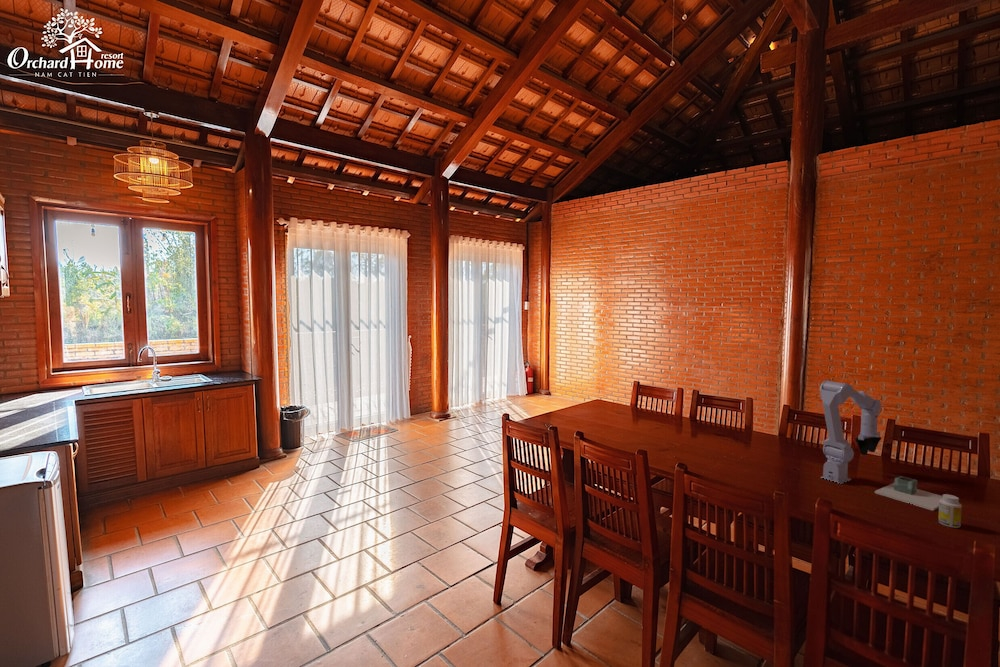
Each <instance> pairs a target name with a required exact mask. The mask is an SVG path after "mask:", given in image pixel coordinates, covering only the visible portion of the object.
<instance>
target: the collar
mask: <svg viewBox="0 0 1000 667" xmlns="http://www.w3.org/2000/svg"><path fill="white" fill-rule="evenodd" d="M893 483H894V490H896V491H899V492H903V493H906V494H909V495H912V494H914V493H916V492H917V489H918V480H917V479H913V478H910V477H906V476H902V475H898V476H897V477H895V478H894V482H893Z"/></svg>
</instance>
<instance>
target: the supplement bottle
mask: <svg viewBox="0 0 1000 667" xmlns="http://www.w3.org/2000/svg"><path fill="white" fill-rule="evenodd" d="M942 496H943V499H941V500H940V501H939V508H938V523H939V524H941V525H942V526H944V527H949V528H953V529H958V528H960V527H961V525H962V523H961V522H962V510H963V509H962V508H963V505H962V504H961V503H960V502H959V501H960V498H959V497H957V496H956V495H952V494H948V493H945V494H942Z"/></svg>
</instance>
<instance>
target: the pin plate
mask: <svg viewBox="0 0 1000 667" xmlns="http://www.w3.org/2000/svg"><path fill="white" fill-rule="evenodd" d="M874 494H876V495H880V496H883V497H887V498H890V499H893V500H896V501H899V502H903V503H907V504H909V503H910V505H912V504H913V506H916V507H918V508H919V507H920V508H923V509H926V510H929V511H936V510H938V509H939V501H940V500H941V499H943V495H940V494H937V493H932V492H929V491H926V490H922V489H918V488H917V492H916V493H914V494H912V495H909V494H906V493H903V492H899V491H896V490H894V482H893V483H890V484H887V485H886V486H883V487H881V488H878V489H876V490H875V491H874Z"/></svg>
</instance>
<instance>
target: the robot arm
mask: <svg viewBox="0 0 1000 667" xmlns="http://www.w3.org/2000/svg"><path fill="white" fill-rule="evenodd" d="M818 389H819V395H820V399H821V401H822V407H823V408H822V409H823V414H824V420H825V424H826V429H827V434H828V438H826V439H824V440H823V441H822V443H823V447H822V451H823V452H822V453H823V454H824V455H825V458H827V461H825V463H823V468H822V469H823V471H822V476H820V479H822V478H824V480H826V479H827V481H829V480H830V481H829V482H832V481H834V483H835V482H837V483H836V484H839V483H840V485H842V484H845V483H847V481H848V482H849V481H852V478H850V477H848V467H849V462H851V461H852V460H853V458H854V455H855V451H854V450H853V448H852V447H851V446H852V444H851V442H849V441H848V440H846V439H845V438H844V437H845V436H844V431H843V427H842V420H841V414H840V409H839V406H840V405H844V404H845V402H846V401H847V400H848V398H851V401H852V402H853V403H854V404H857V405H858V407H859V409H860V410H861V420H860V432H859V434H858V435H857V436H858V437H855V438H854V439H855V442H856V443H857V446H858V449H859V453H860V455H863V456H867V455H868V452H871V453H875V452H876V449H877V447H878V444H879V443H880V442H881V440H882V437H881V435H879V434H880V432H879V431H878V423H879V422H878V420H879V419H878V417H879V415H880V413H881V409H882V407H883V405H882V402H881V401H880V400H879V399H877V398H873V397H872V396H871V395H869V394H867V393H866V392H867V391H864V390H856V389H854V387H853V385H852V384H850V383H844V382H837V381H832V380H827V379H826V380H824V381H822V383H821V385H820V386H819V388H818ZM844 482H845V483H844Z"/></svg>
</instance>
